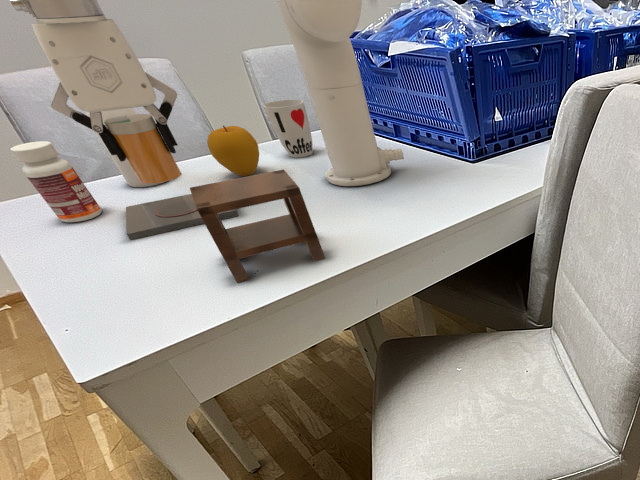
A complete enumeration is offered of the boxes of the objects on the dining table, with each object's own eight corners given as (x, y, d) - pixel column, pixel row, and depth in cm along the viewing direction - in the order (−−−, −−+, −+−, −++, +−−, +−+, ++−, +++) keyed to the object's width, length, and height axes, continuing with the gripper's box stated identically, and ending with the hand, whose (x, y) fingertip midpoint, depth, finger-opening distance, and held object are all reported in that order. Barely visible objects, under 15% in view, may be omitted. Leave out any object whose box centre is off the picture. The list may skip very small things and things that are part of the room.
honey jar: (180, 168, 77) (150, 111, 71) (183, 178, 73) (152, 119, 68) (138, 176, 75) (104, 117, 69) (139, 186, 71) (103, 125, 65)
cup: (284, 161, 99) (264, 109, 92) (281, 152, 104) (261, 102, 97) (322, 155, 102) (305, 104, 95) (316, 147, 107) (300, 97, 100)
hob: (227, 192, 86) (224, 186, 85) (238, 215, 77) (235, 209, 77) (129, 212, 80) (125, 206, 79) (130, 240, 71) (125, 233, 70)
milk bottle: (180, 179, 92) (114, 58, 78) (140, 190, 88) (63, 65, 74) (161, 173, 95) (94, 56, 81) (122, 184, 91) (44, 62, 77)
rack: (309, 236, 71) (283, 169, 64) (325, 258, 65) (299, 186, 58) (227, 258, 66) (189, 187, 59) (236, 283, 60) (196, 208, 54)
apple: (239, 166, 97) (218, 119, 91) (277, 167, 96) (258, 119, 90) (213, 180, 91) (188, 130, 85) (253, 181, 90) (231, 131, 84)
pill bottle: (102, 218, 78) (52, 146, 70) (59, 226, 76) (2, 153, 68) (104, 207, 82) (56, 137, 74) (62, 215, 79) (9, 144, 71)
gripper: (-26, 12, 54) (82, 171, 66) (142, 5, 60) (211, 151, 73) (-14, 9, 58) (84, 159, 71) (140, 3, 65) (205, 141, 77)
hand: (148, 154), depth 72 cm, fingers closed on honey jar, 6 cm apart
